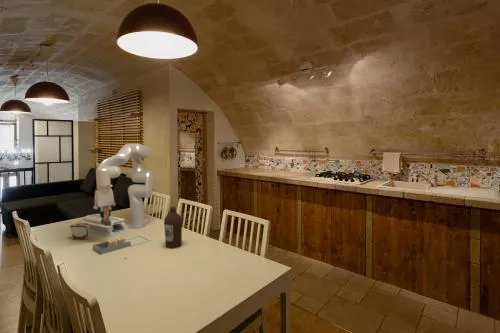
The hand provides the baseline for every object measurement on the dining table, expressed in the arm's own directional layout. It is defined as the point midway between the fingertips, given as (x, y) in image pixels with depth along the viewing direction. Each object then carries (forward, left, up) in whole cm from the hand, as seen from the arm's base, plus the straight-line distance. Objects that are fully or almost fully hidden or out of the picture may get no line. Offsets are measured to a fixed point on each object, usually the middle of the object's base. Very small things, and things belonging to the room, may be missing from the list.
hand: (105, 216), depth 175 cm
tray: (-13, +12, -17) cm, 25 cm away
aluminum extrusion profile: (-9, -29, -18) cm, 36 cm away
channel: (+2, +12, -17) cm, 21 cm away
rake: (0, 0, -5) cm, 5 cm away
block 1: (+1, +12, -16) cm, 20 cm away
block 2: (-4, +12, -16) cm, 21 cm away
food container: (+6, -22, -18) cm, 29 cm away
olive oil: (-26, +34, -18) cm, 46 cm away
